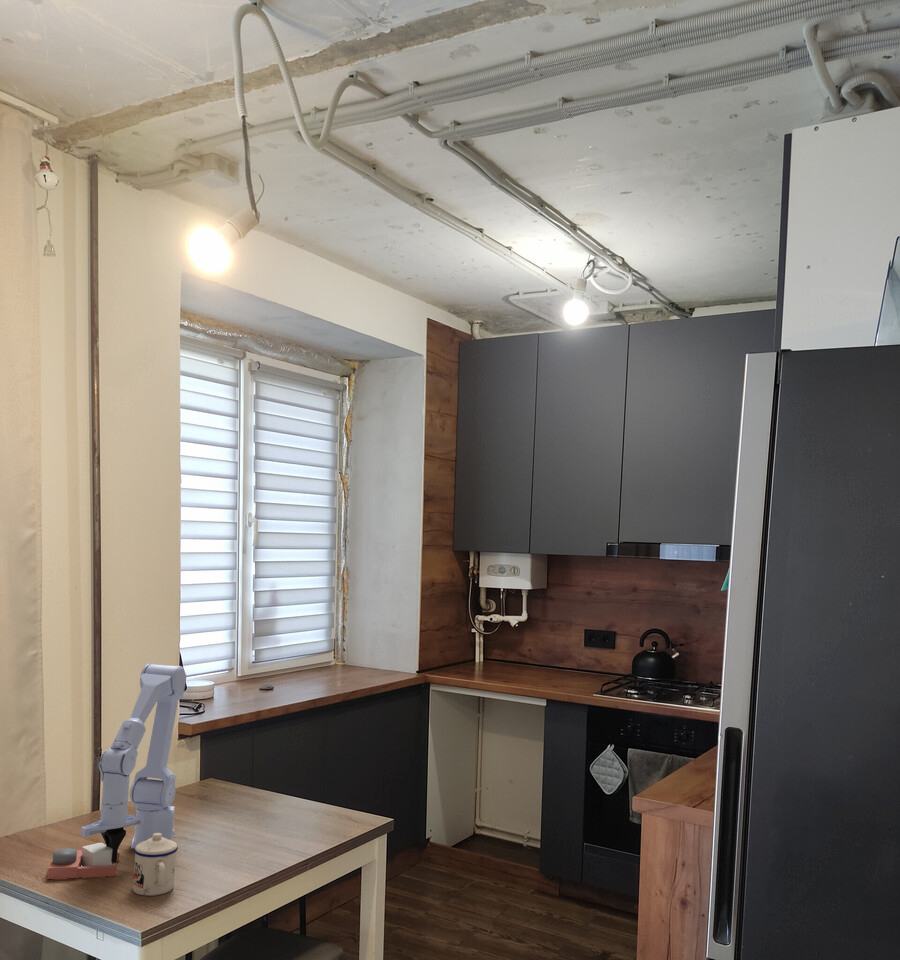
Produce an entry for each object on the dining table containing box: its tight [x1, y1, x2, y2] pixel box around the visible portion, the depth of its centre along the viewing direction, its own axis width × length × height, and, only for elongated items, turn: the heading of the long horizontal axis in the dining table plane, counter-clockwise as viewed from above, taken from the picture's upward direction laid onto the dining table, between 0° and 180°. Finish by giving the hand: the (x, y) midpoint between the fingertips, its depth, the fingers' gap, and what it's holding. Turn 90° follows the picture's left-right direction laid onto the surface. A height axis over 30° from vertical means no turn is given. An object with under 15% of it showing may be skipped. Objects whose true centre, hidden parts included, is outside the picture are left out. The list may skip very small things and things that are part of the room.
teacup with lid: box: [132, 833, 178, 897], centre depth 189 cm, size 12×9×12 cm
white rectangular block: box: [81, 842, 113, 867], centre depth 200 cm, size 4×6×4 cm
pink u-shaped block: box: [47, 847, 121, 880], centre depth 199 cm, size 14×11×4 cm
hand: (110, 862), depth 200 cm, fingers closed, pressing on white rectangular block
